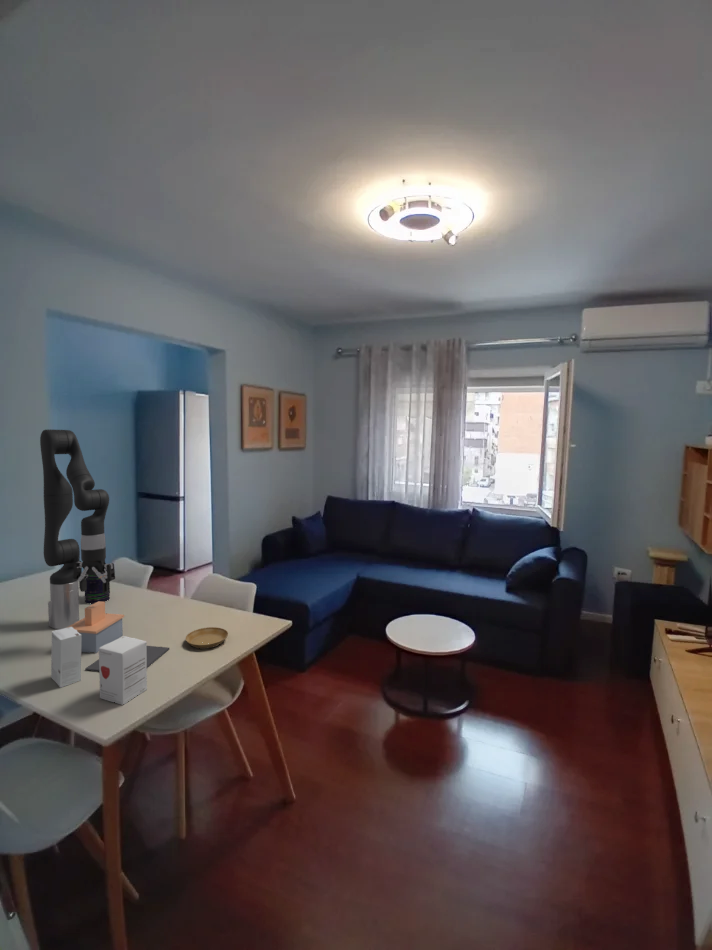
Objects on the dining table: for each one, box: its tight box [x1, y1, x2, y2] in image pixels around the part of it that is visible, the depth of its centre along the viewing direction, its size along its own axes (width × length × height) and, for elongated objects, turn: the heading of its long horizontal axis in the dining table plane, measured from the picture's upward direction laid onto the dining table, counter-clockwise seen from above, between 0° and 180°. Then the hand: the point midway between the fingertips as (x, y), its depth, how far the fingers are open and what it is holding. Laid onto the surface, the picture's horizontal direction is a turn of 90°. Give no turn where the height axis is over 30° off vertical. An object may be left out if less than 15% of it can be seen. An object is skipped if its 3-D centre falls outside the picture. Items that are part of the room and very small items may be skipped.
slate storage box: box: [78, 618, 124, 654], centre depth 164 cm, size 14×11×7 cm
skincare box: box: [50, 627, 82, 688], centre depth 139 cm, size 8×6×15 cm
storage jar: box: [84, 568, 111, 605], centre depth 205 cm, size 10×10×15 cm
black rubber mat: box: [85, 645, 170, 672], centre depth 152 cm, size 18×18×1 cm
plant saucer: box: [184, 626, 229, 650], centre depth 167 cm, size 15×15×3 cm
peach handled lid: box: [66, 601, 125, 634], centre depth 163 cm, size 15×12×8 cm
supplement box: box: [98, 635, 148, 706], centre depth 132 cm, size 9×9×15 cm
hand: (94, 591), depth 162 cm, fingers open, 8 cm apart
